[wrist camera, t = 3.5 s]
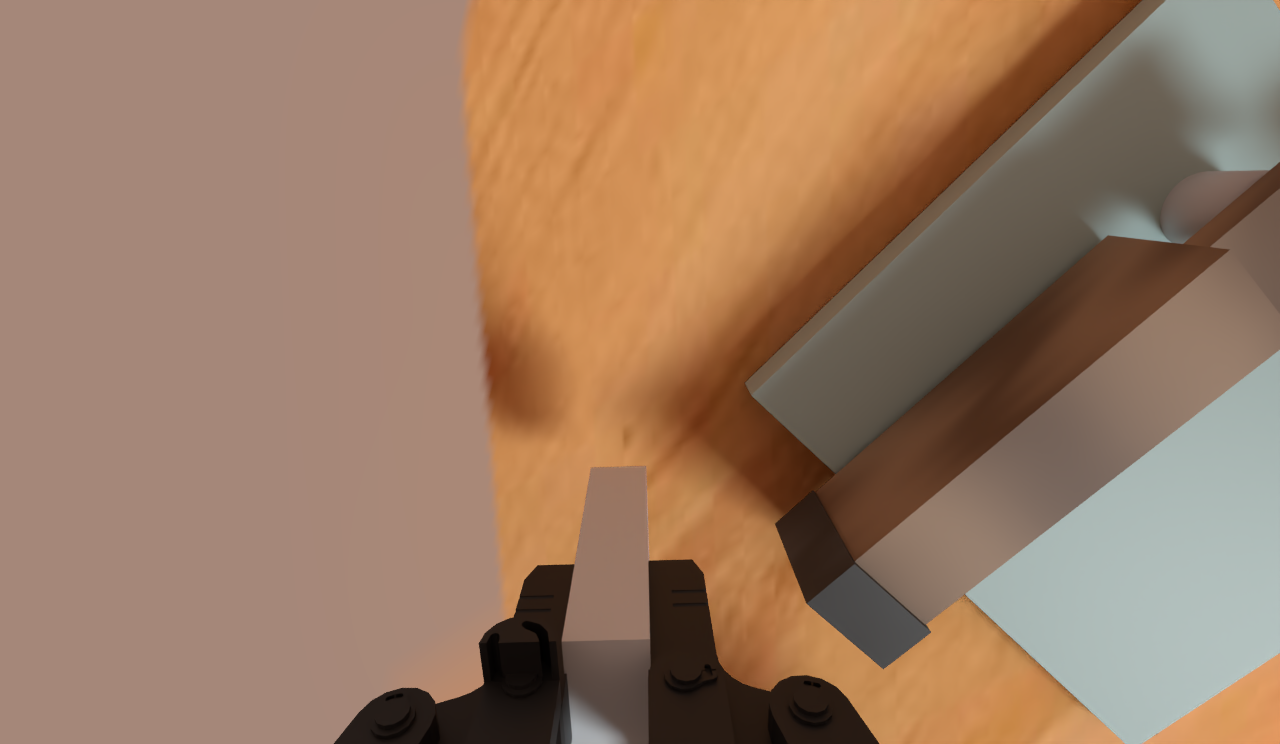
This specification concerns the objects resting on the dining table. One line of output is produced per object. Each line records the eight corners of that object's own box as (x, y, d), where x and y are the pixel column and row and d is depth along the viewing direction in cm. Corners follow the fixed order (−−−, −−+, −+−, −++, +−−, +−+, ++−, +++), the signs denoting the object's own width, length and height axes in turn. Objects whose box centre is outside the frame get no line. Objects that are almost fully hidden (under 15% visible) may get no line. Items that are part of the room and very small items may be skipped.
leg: (1241, 112, 16) (1422, 92, 12) (1301, 196, 16) (1491, 200, 13) (775, 523, 19) (806, 603, 16) (838, 579, 20) (883, 669, 16)
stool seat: (1108, 722, 23) (1224, 856, 19) (744, 382, 19) (778, 447, 15) (1538, 431, 20) (1813, 508, 15) (1203, -59, 16) (1440, -160, 11)
